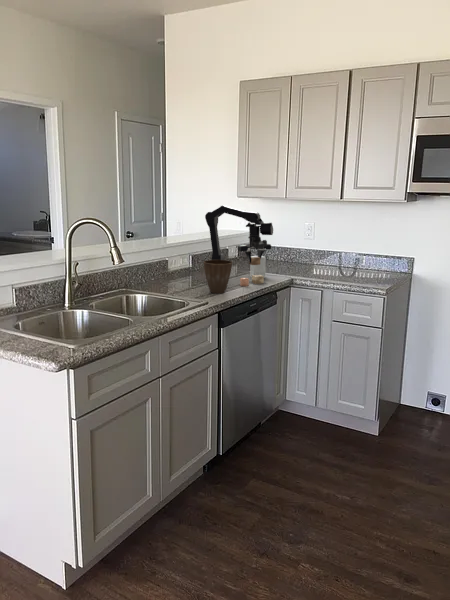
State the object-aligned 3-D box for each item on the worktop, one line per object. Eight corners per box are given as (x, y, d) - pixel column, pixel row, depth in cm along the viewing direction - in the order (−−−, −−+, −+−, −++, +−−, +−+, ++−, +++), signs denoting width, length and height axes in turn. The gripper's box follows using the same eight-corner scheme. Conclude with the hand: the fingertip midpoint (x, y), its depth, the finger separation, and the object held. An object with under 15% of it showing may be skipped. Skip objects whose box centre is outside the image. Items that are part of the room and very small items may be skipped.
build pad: (253, 285, 284) (253, 284, 284) (247, 282, 292) (247, 281, 292) (268, 284, 287) (268, 283, 287) (261, 281, 296) (261, 280, 296)
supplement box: (265, 277, 306) (266, 257, 303) (254, 278, 304) (254, 257, 301) (261, 275, 313) (261, 255, 310) (249, 276, 310) (250, 255, 308)
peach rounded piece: (242, 286, 280) (242, 279, 279) (238, 285, 284) (238, 278, 283) (250, 286, 281) (250, 279, 280) (246, 284, 286) (246, 277, 285)
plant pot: (212, 288, 275) (212, 258, 272) (236, 290, 269) (237, 261, 265) (198, 293, 262) (198, 262, 259) (223, 296, 256) (223, 265, 252)
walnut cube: (252, 265, 285) (252, 258, 284) (248, 264, 290) (248, 257, 289) (260, 264, 287) (260, 257, 286) (256, 263, 291) (256, 256, 290)
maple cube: (255, 283, 287) (255, 276, 286) (251, 282, 291) (251, 275, 290) (263, 283, 288) (263, 276, 288) (259, 281, 293) (259, 274, 292)
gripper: (244, 237, 274) (245, 265, 277) (275, 235, 281) (275, 263, 284) (236, 235, 284) (237, 263, 287) (267, 233, 291) (267, 260, 294)
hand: (254, 262), depth 288 cm, fingers closed on walnut cube, 5 cm apart
